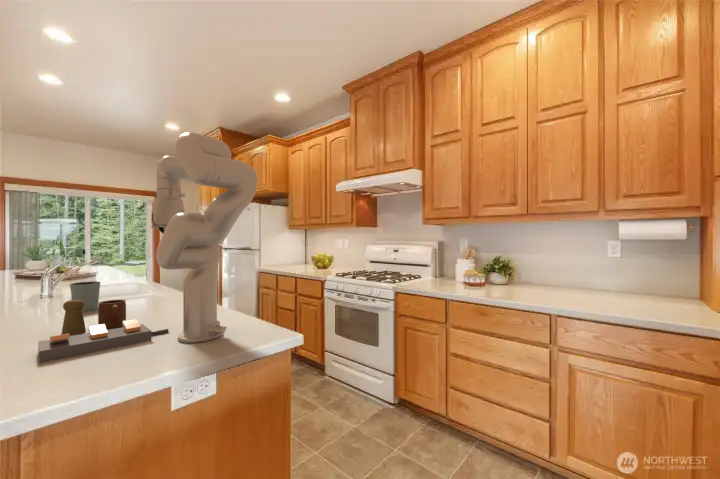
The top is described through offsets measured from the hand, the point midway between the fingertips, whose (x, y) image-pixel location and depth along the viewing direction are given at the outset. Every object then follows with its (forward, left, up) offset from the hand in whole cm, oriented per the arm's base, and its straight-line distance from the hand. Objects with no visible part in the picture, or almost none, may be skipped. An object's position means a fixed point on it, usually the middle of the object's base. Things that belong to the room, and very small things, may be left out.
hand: (168, 245), depth 113 cm
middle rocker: (+1, +24, -25) cm, 35 cm away
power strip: (-1, +21, -29) cm, 36 cm away
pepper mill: (+22, +16, -29) cm, 40 cm away
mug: (+13, +10, -29) cm, 34 cm away
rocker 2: (-3, +17, -25) cm, 31 cm away
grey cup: (+55, -11, -29) cm, 63 cm away
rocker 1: (+5, +31, -25) cm, 40 cm away
